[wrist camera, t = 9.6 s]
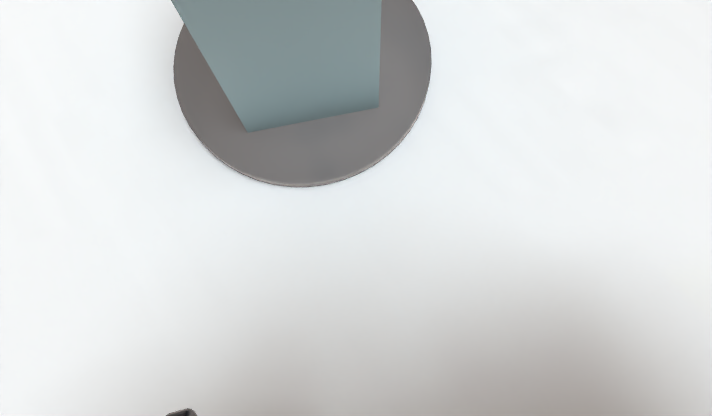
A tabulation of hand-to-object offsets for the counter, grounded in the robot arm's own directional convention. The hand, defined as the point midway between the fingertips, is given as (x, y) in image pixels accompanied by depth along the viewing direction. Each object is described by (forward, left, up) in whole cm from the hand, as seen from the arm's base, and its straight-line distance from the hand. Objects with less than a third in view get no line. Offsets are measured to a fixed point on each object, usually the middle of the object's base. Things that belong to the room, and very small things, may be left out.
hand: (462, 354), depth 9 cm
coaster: (+4, +11, -10) cm, 16 cm away
